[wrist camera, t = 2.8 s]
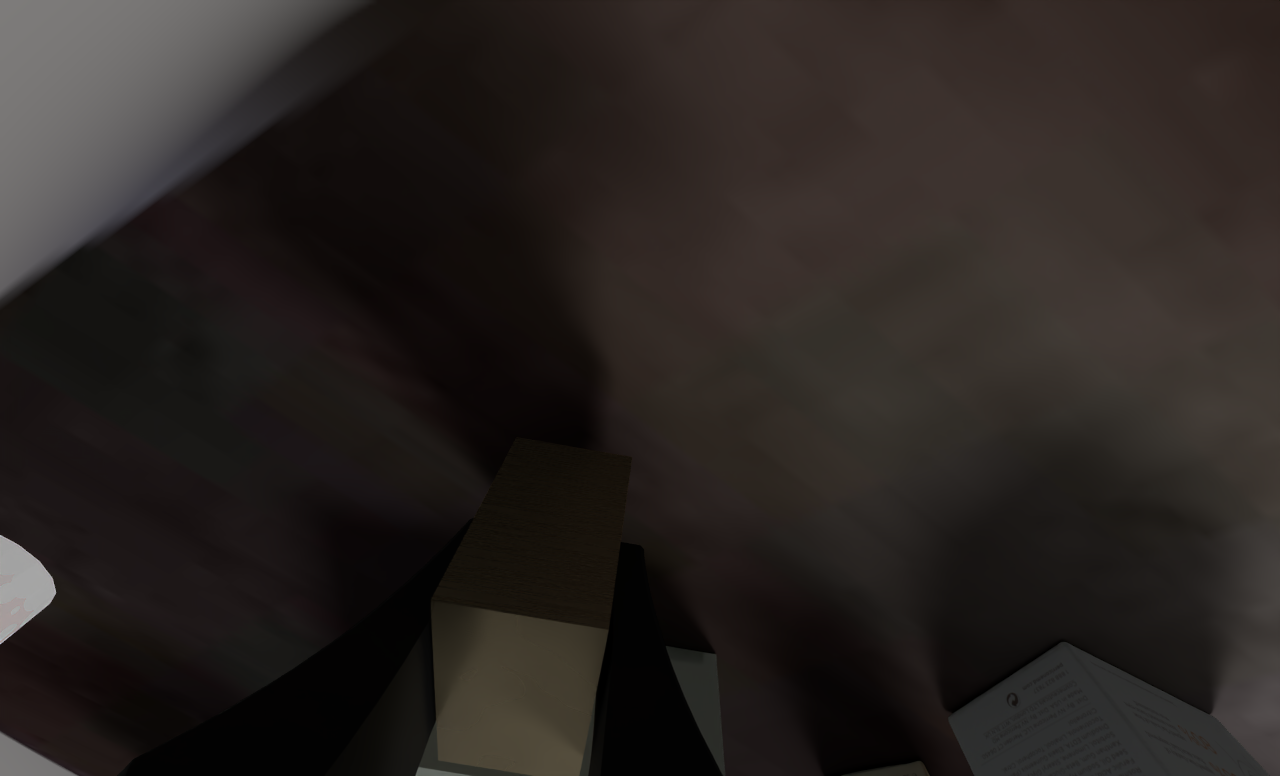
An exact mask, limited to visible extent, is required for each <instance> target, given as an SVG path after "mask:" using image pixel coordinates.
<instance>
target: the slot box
mask: <svg viewBox="0 0 1280 776" xmlns="http://www.w3.org/2000/svg"><path fill="white" fill-rule="evenodd" d="M666 649H667V652H668V655H669V658H670V660H671V663H672V666H673V669H674V671H675V674H676V677H677V679H678V682H679V684H680V687H681V689H682V691H683V694H684V696H685V699H686V701H687V703H688V706H689V708H690V710H691V712H692V714H693V717H694V719H695V721H696V723H697V725H698V728H699V730H700V732H701V734H702V736H703V738H704V739H705V741H706V743H707V745H708V747H709V749H710V751H711V753H712V755H713V757H714V759H715V761H716V763H717V765H718V767H719V769H720V771H721V773H722V775H723V776H725V767H724V754H723V741H722V727H721V714H720V701H719V688H718V675H717V661H716V654H711V653H705V652H699V651H693V650H687V649H681V648H675V647H669V646H666ZM595 697H596V696H595ZM594 713H595V701H594V706H593V711H592V716H591V721H590V725H589V730H588V735H587V740H586V745H585V750H584V755H583V760H582V765H581V770H580V775H579V776H588V773H589V766H590V759H591V750H592V740H593V728H594ZM416 776H532V775H526V774H520V773H514V772H507V771H501V770H495V769H489V768H482V767H476V766H470V765H464V764H457V763H451V762H445V761H439V760H438V745H437V724H436V722H435V724H434V727H433V729H432V732H431V734H430V737H429V740H428V743H427V745H426V748H425V751H424V754H423V756H422V759H421V762H420V765H419V767H418V770H417V773H416Z"/></svg>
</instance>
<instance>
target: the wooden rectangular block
mask: <svg viewBox="0 0 1280 776" xmlns="http://www.w3.org/2000/svg"><path fill="white" fill-rule="evenodd" d="M631 462H632V457H629V456H623V455H617V454H611V453H605V452H600V451H594V450H588V449H582V448H576V447H570V446H565V445H559V444H553V443H547V442H541V441H536V440H530V439H524V438H518V437H516V439H515V441H514V443H513V445H512V447H511V449H510V451H509V452H508V454H507V456H506V458H505V460H504V462H503V464H502V466H501V468H500V470H499V471H498V473H497V475H496V477H495V479H494V481H493V483H492V485H491V487H490V488H489V490H488V492H487V494H486V496H485V498H484V500H483V502H482V504H481V506H480V507H479V509H478V511H477V513H476V515H475V517H474V519H473V521H472V523H471V524H470V526H469V528H468V530H467V532H466V534H465V536H464V538H463V540H462V542H461V543H460V545H459V547H458V549H457V551H456V553H455V555H454V557H453V559H452V561H451V562H450V564H449V566H448V568H447V570H446V572H445V574H444V576H443V578H442V579H441V581H440V583H439V585H438V587H437V589H436V591H435V593H434V595H433V597H432V598H431V600H430V601H431V622H432V642H433V663H434V683H435V704H436V724H437V745H438V760H439V761H445V762H451V763H457V764H464V765H470V766H476V767H482V768H489V769H495V770H501V771H507V772H514V773H520V774H526V775H532V776H579V775H580V770H581V765H582V760H583V755H584V750H585V745H586V740H587V735H588V730H589V725H590V721H591V716H592V711H593V706H594V701H595V696H596V691H597V686H598V681H599V676H600V671H601V666H602V661H603V656H604V651H605V646H606V641H607V636H608V631H609V625H610V617H611V610H612V602H613V595H614V588H615V580H616V573H617V565H618V558H619V551H620V543H621V536H622V528H623V521H624V513H625V506H626V499H627V491H628V484H629V476H630V469H631Z"/></svg>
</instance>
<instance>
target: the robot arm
mask: <svg viewBox="0 0 1280 776" xmlns="http://www.w3.org/2000/svg"><path fill="white" fill-rule="evenodd" d="M473 519H474V518H472V519H470V520H469V521H468V522H467V523H466V524H465V525H464V526H463V528H462V529H461V530H460V531H459V532H458V533H457V534H456V535H455V536H454V537H453V538H452V539H451V540H450V541H449V542H448V543H447V544H446V545H445V546H444V547H443V548H442V549H441V550H440V551H439V552H438V553H437V554H436V555H435V556H434V557H433V558H432V559H431V560H430V561H429V562H428V563H427V564H426V565H425V566H424V567H422V568H421V569H420V570H419V571H418V572H417V573H416V574H415V575H414V576H413V577H412V578H411V579H410V580H408V581H407V582H406V583H405V584H404V585H403V586H402V587H401V588H399V589H398V590H397V591H396V592H395V593H393V594H392V595H391V596H390V597H389V598H388V599H386V600H385V601H384V602H383V603H382V604H381V605H379V606H378V607H377V608H376V609H375V610H373V611H372V612H371V613H370V614H368V615H367V616H366V617H365V618H363V619H362V620H361V621H360V622H358V623H357V624H356V625H354V626H353V627H352V628H350V629H349V630H348V631H346V632H345V633H344V634H342V635H341V636H340V637H338V638H337V639H336V640H334V641H333V642H331V643H330V644H329V645H327V646H326V647H324V648H323V649H321V650H320V651H318V652H317V653H316V654H314V655H313V656H311V657H310V658H308V659H307V660H305V661H304V662H302V663H301V664H300V665H298V666H297V667H295V668H293V669H292V670H290V671H289V672H287V673H286V674H284V675H283V676H281V677H280V678H278V679H276V680H275V681H273V682H271V683H270V684H268V685H266V686H265V687H263V688H261V689H260V690H258V691H256V692H255V693H253V694H251V695H250V696H248V697H246V698H245V699H243V700H241V701H240V702H238V703H236V704H235V705H233V706H231V707H230V708H228V709H226V710H225V711H223V712H221V713H219V714H218V715H216V716H214V717H212V718H211V719H209V720H207V721H205V722H203V723H201V724H199V725H198V726H196V727H194V728H192V729H190V730H188V731H186V732H184V733H183V734H181V735H179V736H177V737H175V738H173V739H171V740H169V741H167V742H166V743H164V744H162V745H160V746H158V747H156V748H154V749H152V750H150V751H149V752H147V753H145V754H143V755H141V756H139V757H137V758H135V759H133V760H132V761H131V762H130V763H129V764H128V765H127V766H126V767H125V769H124V770H123V771H122V772H121V773H119V774H118V775H117V776H416V773H417V770H418V767H419V765H420V762H421V759H422V756H423V754H424V751H425V748H426V745H427V743H428V740H429V737H430V734H431V732H432V729H433V727H434V724H435V722H436V704H435V683H434V663H433V642H432V622H431V601H430V600H431V598H432V597H433V595H434V593H435V591H436V589H437V587H438V585H439V583H440V581H441V579H442V578H443V576H444V574H445V572H446V570H447V568H448V566H449V564H450V562H451V561H452V559H453V557H454V555H455V553H456V551H457V549H458V547H459V545H460V543H461V542H462V540H463V538H464V536H465V534H466V532H467V530H468V528H469V526H470V524H471V523H472V521H473ZM588 776H723V775H722V773H721V771H720V769H719V767H718V765H717V763H716V761H715V759H714V757H713V755H712V753H711V751H710V749H709V747H708V745H707V743H706V741H705V739H704V738H703V736H702V734H701V732H700V730H699V728H698V725H697V723H696V721H695V719H694V717H693V714H692V712H691V710H690V708H689V706H688V703H687V701H686V699H685V696H684V694H683V691H682V689H681V687H680V684H679V682H678V679H677V677H676V674H675V671H674V669H673V666H672V663H671V660H670V658H669V655H668V652H667V649H666V646H665V643H664V640H663V637H662V634H661V630H660V627H659V623H658V620H657V616H656V613H655V609H654V605H653V601H652V597H651V593H650V588H649V584H648V579H647V573H646V567H645V559H644V549H643V548H642V547H641V546H640V545H634V544H628V543H622V542H621V543H620V551H619V558H618V565H617V573H616V580H615V588H614V595H613V602H612V610H611V617H610V625H609V631H608V636H607V641H606V646H605V651H604V656H603V661H602V666H601V671H600V676H599V681H598V686H597V691H596V697H595V713H594V728H593V740H592V750H591V759H590V766H589V773H588Z"/></svg>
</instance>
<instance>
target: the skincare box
mask: <svg viewBox="0 0 1280 776" xmlns="http://www.w3.org/2000/svg"><path fill="white" fill-rule="evenodd" d="M842 776H930V775H929V773H928V772H927V770H926V768H925V766H924V764H923V763H922V762H921V761H916V762H912V763H907V764H899V765H893V766H886V767H880V768H875V769H869V770H864V771H859V772H854V773H850V774H846V775H842Z"/></svg>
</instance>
